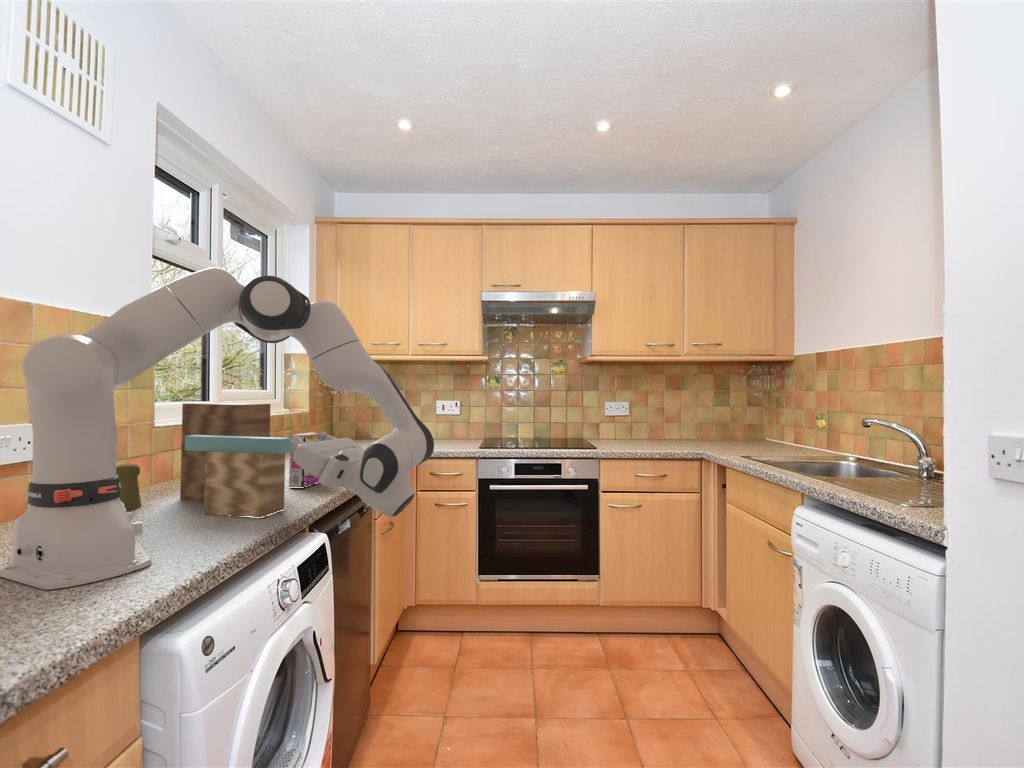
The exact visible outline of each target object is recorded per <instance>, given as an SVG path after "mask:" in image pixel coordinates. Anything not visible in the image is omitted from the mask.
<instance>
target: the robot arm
mask: <svg viewBox="0 0 1024 768" xmlns="http://www.w3.org/2000/svg"><path fill="white" fill-rule="evenodd" d="M229 323H234V325H235V326H236V327H238V328H239V329H241V330H242V331H244V332H245V333H247V334H248V335H250V336H251V337H253V338H254V339H255V340H257V341H260V342H262V343H267V344H276V343H277V344H278V343H282V342H284V341H285V340H287V339H289V338H294V339H295V340H296V341H298V342H299V343H300V344H301V345H302V347H303V348H304V350H305V352H306V355H307V357H308V359H309V361H310V362H311V365H312V367H313V369H314V370H315V373H316V374H317V375H318V377H319V379H320V380H321V381H322V382H323V383H324V384H325V385H326V386H328V387H329V388H331V389H333V390H336V391H341V392H347V393H349V392H350V393H359V394H363V395H364V396H365V395H366V396H368V397H370V398H371V399H372V400H373V401H374V402H375V404H376V405H377V406H378V408H380V410H381V412H382V413H383V415H384V417H385V418H386V419H387V421H388V422H389V423H390V426H391V428H392V431H391V432H389V433H388V434H386V435H384V436H382V437H381V438H378V439H377V440H374V442H372V443H371V444H369V445H368V446H367V447H366V449H364V447H363V446H361V445H360V444H359V443H358V442H356V441H355V440H353V438H350V437H342V438H341V437H340V438H337V437H336V436H333V435H330V434H328V433H327V432H324V431H319V432H317V433H318V434H317V436H316V438H317V439H319V440H320V442H313V443H306V442H303V440H302V439H303V438H302V437H301V436H299V435H294V434H292V435H293V436H292V438H291V437H290V438H291V439H290V441H291V442H292V443H293V444H294V445H295V446H296V450H295V452H294V454H293V460H294V462H295V463H296V464H298V465H299V466H300V467H301V468H303V469H304V470H305V471H307V472H308V473H309V474H311V475H313V476H315V477H319V480H318V482H319V484H320V485H323V486H326V487H327V486H328V487H339V488H344V489H345V490H347V491H348V492H350V493H351V494H355V495H356V496H358V497H359V499H361V501H362V502H363V503H364V504H365V505H367V506H368V507H370V508H372V509H373V510H374V511H375V512H377V513H380V514H381V515H383V516H386V517H389V518H394V517H396V516H398V515H400V514H401V513H402V512H403V511H404V510H405V509H406V508H407V507H408V506H409V505H410V504H411V502H412V501H413V499H414V498H415V495H416V492H415V490H413V489H412V487H411V482H410V471H412V470H413V469H414V468H416V467H418V466H419V465H421V464H423V463H424V462H426V461H428V460H430V458H431V457H432V455H433V453H434V449H435V443H434V442H435V441H434V438H433V437H434V436H433V434H432V432H431V431H430V429H429V428H428V426H426V424H425V423H423V422H422V420H421V419H419V417H418V416H417V415H416V414H415V412H414V410H413V409H412V407H411V406H410V405H409V403H408V401H407V400H406V398H405V397H404V395H403V393H402V392H401V390H400V389H399V387H398V386H397V384H396V383H395V381H394V380H393V378H392V377H391V376H390V374H389V372H387V370H386V369H385V368H384V367H383V366H382V365H379V364H378V363H377V362H375V360H374V359H373V358H372V357H371V356H370V354H369V353H368V352H367V351H366V349H365V347H364V346H363V344H362V342H361V340H360V338H359V336H358V335H357V332H356V331H355V329H354V328H353V326H352V324H351V323H350V321H349V319H348V318H347V317H346V316H345V314H344V313H343V311H342V310H341V309H340V307H339V306H337V304H335V303H333V302H331V301H327V300H326V301H325V300H321V301H320V300H319V301H314V302H310V299H309V297H308V296H306V295H305V294H304V293H302V292H301V291H299V290H298V289H297V288H295V287H294V286H293V285H292V284H291V283H289V282H288V281H286V280H285V279H282V278H281V277H278V276H275V275H260V276H258V277H255V278H252V279H251V280H250V281H248V283H246V284H245V285H244V284H242V282H240V281H239V280H238V278H237V277H236V276H234V275H233V274H232V273H231V272H229V271H228V270H226V269H224V268H221V267H216V266H213V267H212V266H211V267H207V268H204V269H201V270H200V269H199V270H198V271H194V272H192V273H189V274H186V275H185V276H181V277H179V278H177V279H175V280H173V281H170V282H168V283H167V284H165V285H163V286H160V287H158V288H156V289H154V290H152V291H151V292H149V293H147V294H145V295H143V296H141V297H139V298H137V299H135V300H134V301H131V302H130V303H128V304H125V305H124V306H121V307H120V308H119V309H118V310H117V311H116V312H114V313H113V314H111V315H110V316H108V317H107V318H106V319H104V320H103V321H101V322H100V323H98V324H97V325H95V326H93V327H91V328H90V329H89V330H87V331H85V332H84V333H82V334H80V335H77V334H72V333H71V334H69V333H68V334H57V335H53V336H49V337H47V338H44V339H43V340H41V341H39V342H37V343H36V344H34V345H33V346H32V347H31V348H29V350H28V351H27V352H26V354H25V356H24V359H23V362H22V370H23V375H24V376H25V385H26V394H27V404H28V410H29V417H30V421H31V426H32V427H31V429H32V442H33V443H32V471H31V472H32V475H31V476H32V478H31V481H30V482H29V483H28V489H27V492H26V496H27V504H28V505H29V506H28V507H27V510H26V511H25V512H24V513H23V514H22V515H20V516H19V517H18V518H17V519H16V520H14V526H13V528H14V529H13V538H12V548H11V557H10V558H11V559H10V563H8V564H4V565H2V566H0V577H1V578H4V579H7V580H10V581H13V582H17V583H21V584H23V585H28V586H30V587H34V588H37V589H40V590H49V591H50V590H56V589H62V588H69V587H76V586H80V585H81V586H82V585H85V584H89V583H95V582H98V581H102V580H106V579H110V578H111V579H112V578H115V577H118V576H123V575H126V574H129V573H132V571H133V572H134V571H135V570H136V571H138V569H139V570H141V569H143V568H146V567H148V566H150V564H151V565H152V564H153V562H152V558H151V557H150V555H149V554H148V552H147V551H146V550H145V549H144V547H143V546H142V545H141V543H139V541H138V540H136V536H141V535H142V534H143V523H142V522H141V521H136V522H132V520H134V519H133V518H134V514H133V512H128V510H127V511H126V509H125V507H124V503H122V502H121V501H120V499H119V497H120V496H121V491H120V488H121V485H120V482H119V476H118V475H116V467H117V460H118V459H117V457H118V456H117V451H118V430H117V423H116V413H115V400H114V399H115V393H114V391H115V390H116V389H118V388H120V387H121V386H123V385H125V384H127V383H128V382H130V381H132V380H133V379H135V378H136V377H137V376H139V375H141V374H143V373H144V372H145V371H147V370H149V369H150V368H152V367H153V366H155V365H157V364H158V363H159V362H161V361H163V360H164V359H165V358H167V357H169V356H170V355H172V354H174V353H176V352H177V351H179V350H181V349H183V348H185V347H186V346H188V345H190V344H191V343H193V342H194V341H197V340H198V339H200V338H202V337H203V336H205V335H206V334H208V333H210V332H211V331H214V330H215V329H218V327H221V326H222V325H225V324H229ZM125 573H126V574H125Z"/></svg>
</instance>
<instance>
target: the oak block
mask: <svg viewBox="0 0 1024 768" xmlns="http://www.w3.org/2000/svg"><path fill="white" fill-rule="evenodd" d="M285 477H286V453H284V454H271V453H244V452H217V451H207V452H205V486H204V501H203V514H204V515H208V514H210V516H220V515H231V516H252V517H253V516H254V517H262V516H266V515H268V514H271V513H274V512H277V511H280V510H283V509H284V510H285V486H286V485H285V481H286V480H285V479H286V478H285ZM211 514H212V515H211ZM231 516H230V517H231Z"/></svg>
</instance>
